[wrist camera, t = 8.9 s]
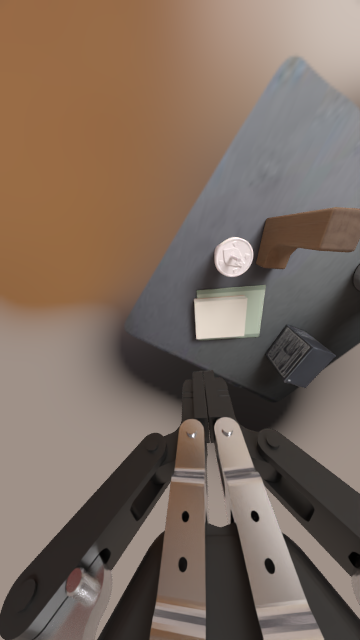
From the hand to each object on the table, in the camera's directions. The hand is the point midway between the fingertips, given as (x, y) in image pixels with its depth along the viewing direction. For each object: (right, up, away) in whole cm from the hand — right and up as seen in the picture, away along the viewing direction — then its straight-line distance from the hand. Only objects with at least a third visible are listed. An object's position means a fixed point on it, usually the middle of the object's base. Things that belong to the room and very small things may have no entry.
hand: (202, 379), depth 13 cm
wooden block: (+18, +21, +25) cm, 37 cm away
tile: (+2, +4, +31) cm, 32 cm away
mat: (+11, +6, +32) cm, 34 cm away
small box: (+27, -2, +36) cm, 45 cm away
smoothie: (+8, +19, +26) cm, 33 cm away
